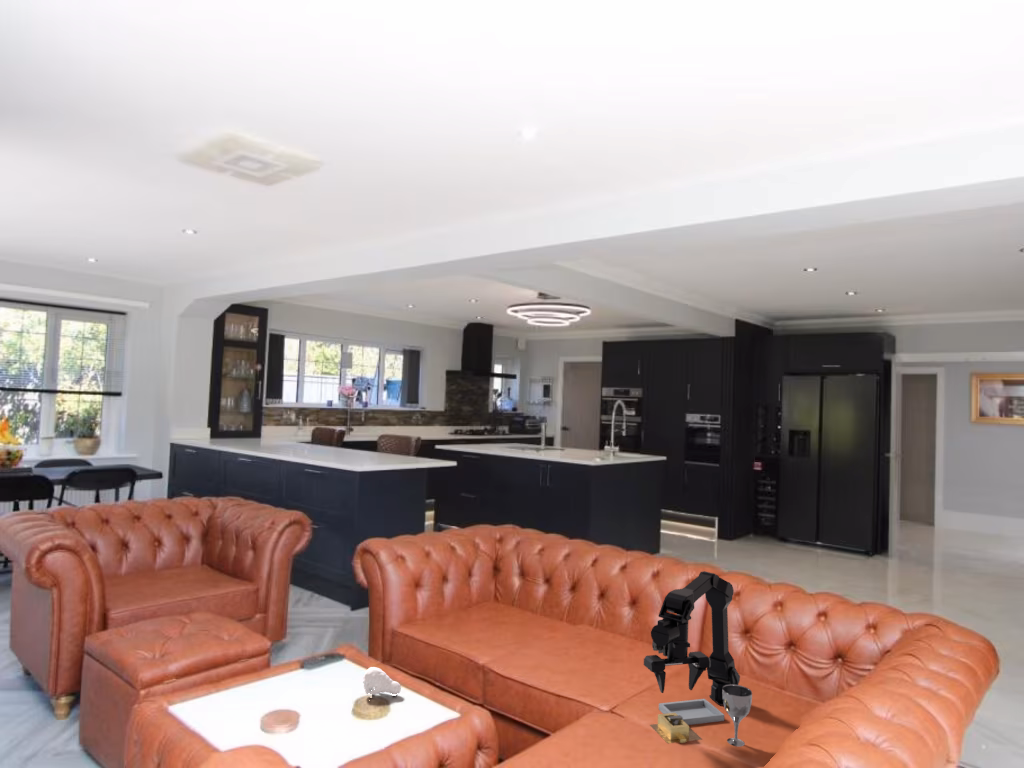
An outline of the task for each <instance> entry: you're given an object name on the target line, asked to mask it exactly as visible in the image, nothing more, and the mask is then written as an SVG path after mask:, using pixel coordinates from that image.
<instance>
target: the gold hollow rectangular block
mask: <svg viewBox="0 0 1024 768" xmlns="http://www.w3.org/2000/svg"><path fill="white" fill-rule="evenodd" d="M670 716H678V715H677V714H676V713H667V714H663V713H660V714H659V713H658V714H657V724H658V727H659V728H660V729H661V730H662V731H663V732H664V733H665V734H666V736H667V737H668V738H669V739H670V740H678V741H679V742H678V743H680V744H685V743H687V741H686V739H688V738H689V727H690V725H687V724H686V723H685V722H684V721H683V720H679V725H676V726H673V725H672V723H673V721H670V720H669V719H668V717H670Z"/></svg>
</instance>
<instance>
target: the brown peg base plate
mask: <svg viewBox="0 0 1024 768" xmlns="http://www.w3.org/2000/svg"><path fill="white" fill-rule="evenodd" d="M668 719H669V720H670V721H673V723H672V725H673V726H676V725H679V720H683V717H682V716H680V715H679V716H670V717H668ZM649 726H650V728H652V729H653V730H654V732H655V733H657V734H658V735H659V736H660V738H662V740H663V741H665V743H666V744H668V745H669V744H677V743H680V742H679V741H678V740H670V739H669V738H668V737H667V736H666V734H665V733H664V732H663V731H662V730H661V729H660V728H659V727H658V723H655V724H654V723H653V724H649ZM701 740H703V738H702V737H701V736H700V735H698V734H697V732H695V731H694V730H693V729H692V728H691V727H690V726H689V738H688V739H686V742H691V741H701Z"/></svg>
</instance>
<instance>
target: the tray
mask: <svg viewBox="0 0 1024 768" xmlns="http://www.w3.org/2000/svg"><path fill="white" fill-rule="evenodd" d="M658 710H659V712H660V713H661V714H667V713H676V714H677V715H678V716H679V715H680V716H682V717H683V721H684V722H685V723H686V724H687V725H688V726H691V725H701V724H707V723H708V724H709V723H717V722H724V721H725V714H724V713H723V712H722V711H720V710H719V709H718V708H717V707H716V706H714V705H713V704H712V703H711V702H709V701H708V700H707V699H706V698H699V699H690V700H681V701H680V700H679V701H670V702H661V703H658Z"/></svg>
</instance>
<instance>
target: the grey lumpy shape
mask: <svg viewBox="0 0 1024 768" xmlns="http://www.w3.org/2000/svg"><path fill="white" fill-rule="evenodd" d="M363 675H364V676H363V682H362V683H363V688H364V690H365V691H364V692H365V694H366V695H367V694H368V693H370V694H373V695H379V694H380V693H389V694H391V693H392V694H397V693H398V694H399V693H400V692H401V689H402V687H401V684H400V682H398V681H395V680H393V679H392V678H390V676H389V675H387V673H386V672H385V671H383V670H382V668H379V667H376V666H370V667H369V668H368V669H367V670H365V672H364V674H363ZM374 689H375V690H374ZM371 690H372V691H371ZM398 694H397V695H398Z"/></svg>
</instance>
